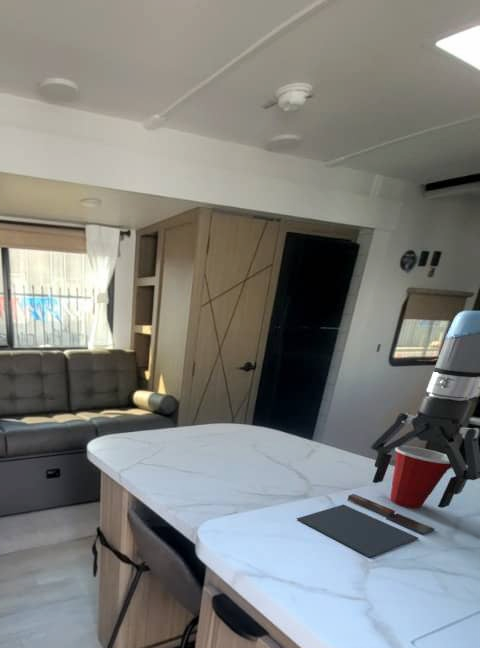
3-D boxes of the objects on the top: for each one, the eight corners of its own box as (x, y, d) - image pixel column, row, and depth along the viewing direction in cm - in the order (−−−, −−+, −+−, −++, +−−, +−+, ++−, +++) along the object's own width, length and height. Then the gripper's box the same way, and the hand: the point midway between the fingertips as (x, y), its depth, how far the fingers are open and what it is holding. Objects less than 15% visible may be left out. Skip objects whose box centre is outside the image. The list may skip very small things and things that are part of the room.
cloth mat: (343, 505, 88) (343, 504, 88) (417, 538, 76) (418, 537, 76) (296, 519, 82) (296, 518, 82) (369, 558, 70) (370, 556, 70)
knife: (344, 500, 90) (345, 496, 90) (355, 497, 92) (356, 492, 92) (422, 534, 78) (425, 529, 77) (433, 530, 79) (436, 525, 79)
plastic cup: (444, 506, 89) (467, 454, 84) (424, 518, 84) (447, 464, 78) (390, 488, 97) (408, 440, 92) (368, 498, 92) (386, 448, 86)
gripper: (373, 385, 88) (344, 475, 98) (520, 413, 68) (466, 522, 78) (393, 383, 91) (363, 470, 101) (539, 409, 72) (485, 514, 81)
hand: (408, 493), depth 89 cm, fingers open, 13 cm apart
